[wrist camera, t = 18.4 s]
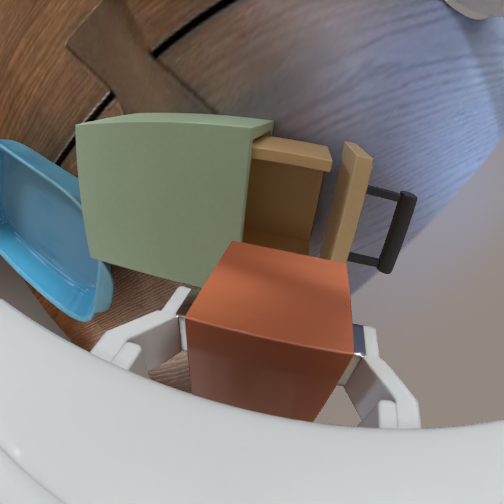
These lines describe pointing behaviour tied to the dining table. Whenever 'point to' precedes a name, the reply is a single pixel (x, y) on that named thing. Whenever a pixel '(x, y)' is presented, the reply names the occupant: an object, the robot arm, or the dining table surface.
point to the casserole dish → (49, 233)
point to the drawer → (316, 201)
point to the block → (270, 331)
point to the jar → (478, 8)
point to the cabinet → (165, 189)
